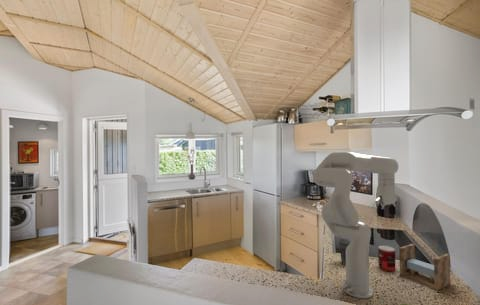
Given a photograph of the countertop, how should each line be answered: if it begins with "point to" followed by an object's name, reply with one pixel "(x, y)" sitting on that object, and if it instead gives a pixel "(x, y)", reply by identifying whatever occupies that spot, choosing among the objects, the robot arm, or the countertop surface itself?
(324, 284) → the countertop surface
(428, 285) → the peg shelf
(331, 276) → the countertop surface
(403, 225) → the countertop surface
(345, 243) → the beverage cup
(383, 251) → the canned food
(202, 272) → the countertop surface
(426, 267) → the light blue block
